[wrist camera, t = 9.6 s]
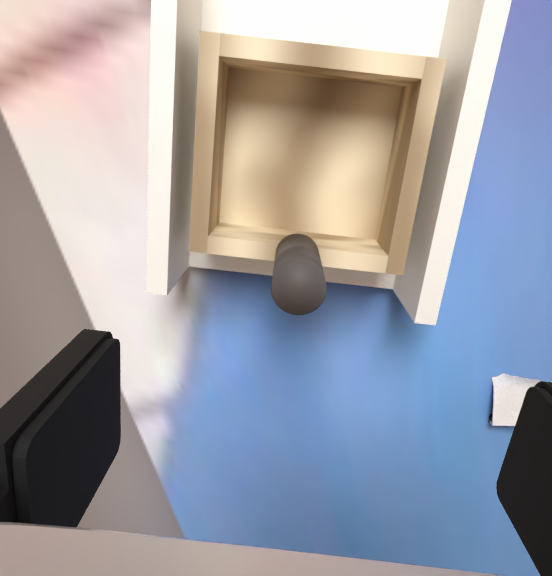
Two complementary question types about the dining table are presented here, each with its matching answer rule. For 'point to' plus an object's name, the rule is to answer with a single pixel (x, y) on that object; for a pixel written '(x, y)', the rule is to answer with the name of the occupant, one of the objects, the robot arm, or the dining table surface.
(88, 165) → the dining table surface
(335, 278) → the bay
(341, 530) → the dining table surface
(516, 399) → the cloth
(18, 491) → the robot arm
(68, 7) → the dining table surface
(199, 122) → the box
